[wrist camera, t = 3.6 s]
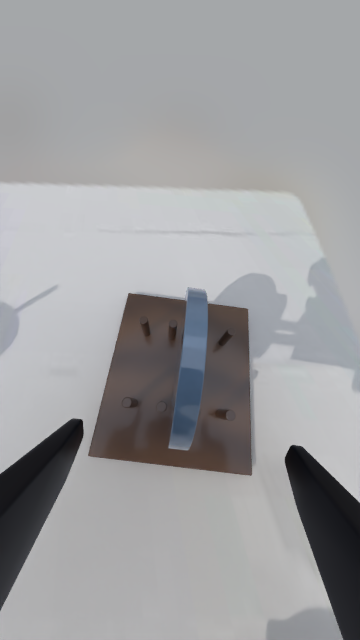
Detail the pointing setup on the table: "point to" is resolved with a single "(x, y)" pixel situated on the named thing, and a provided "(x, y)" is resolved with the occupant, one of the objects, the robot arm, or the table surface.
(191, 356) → the plate
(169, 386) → the rack
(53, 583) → the table surface
